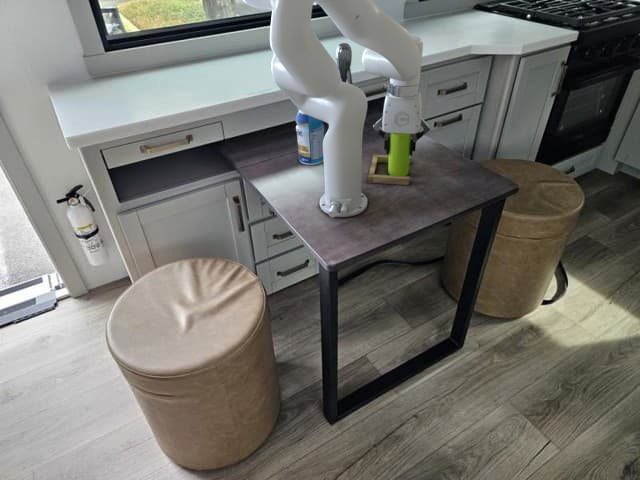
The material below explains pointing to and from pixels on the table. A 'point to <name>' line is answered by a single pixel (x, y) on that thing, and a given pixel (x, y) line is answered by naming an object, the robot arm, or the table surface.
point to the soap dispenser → (399, 154)
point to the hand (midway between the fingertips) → (399, 152)
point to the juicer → (343, 64)
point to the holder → (385, 178)
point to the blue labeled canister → (309, 138)
